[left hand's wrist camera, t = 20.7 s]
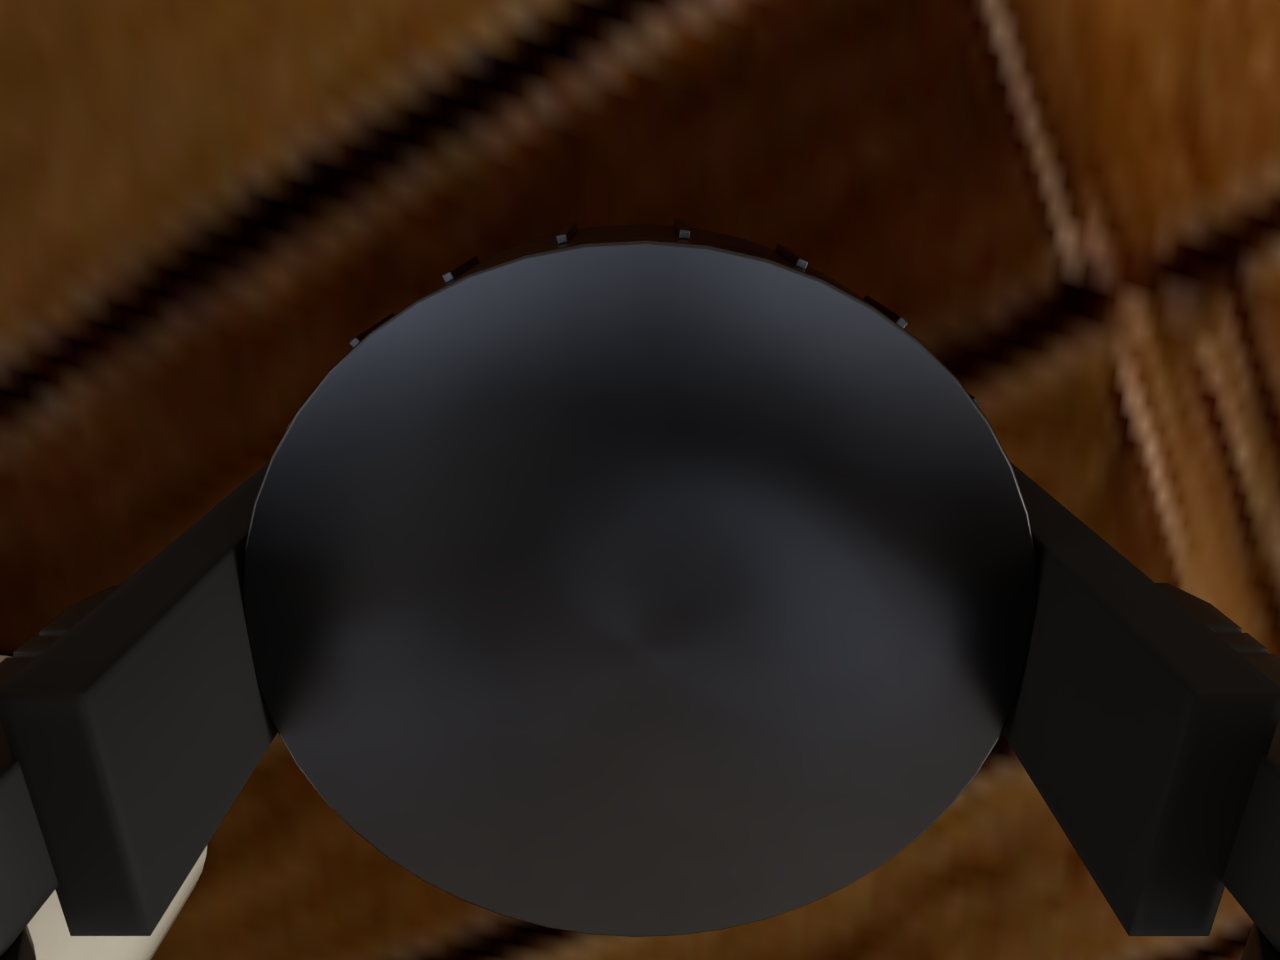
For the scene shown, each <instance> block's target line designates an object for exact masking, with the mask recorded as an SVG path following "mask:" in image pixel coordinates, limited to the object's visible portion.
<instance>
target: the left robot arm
mask: <svg viewBox="0 0 1280 960" xmlns="http://www.w3.org/2000/svg"><path fill="white" fill-rule="evenodd" d="M1010 463H1011V462H1010ZM268 465H269V462H268V463H267V464H266V465H265V466H264V467H262V468H261V469H260V470H259V471H258V472H256V473H255V474H254V475H253V476H252V477H251V478H249V479H248V480H247V481H246V482H245V483H243V484H242V485H241V486H240V487H239V488H237V489H236V490H235V491H234V492H233V493H231V494H230V495H229V496H228V497H227V498H225V499H224V500H223V501H222V502H221V503H219V504H218V505H217V506H216V507H215V508H214V509H212V510H211V511H210V512H209V513H208V514H206V515H205V516H204V517H203V518H202V519H200V520H199V521H198V522H197V523H196V524H194V525H193V526H192V527H191V528H190V529H188V530H187V531H186V532H185V533H184V534H182V535H181V536H180V537H179V538H178V539H177V540H175V541H174V542H173V543H172V544H171V545H169V546H168V547H167V548H166V549H165V550H163V551H162V552H161V553H160V554H159V555H157V556H156V557H155V558H154V559H153V560H151V561H150V562H149V563H148V564H147V565H145V566H144V567H143V568H142V569H141V570H140V571H138V572H137V573H136V574H135V575H134V576H132V577H131V578H130V579H129V580H128V581H126V582H125V583H124V584H123V585H122V586H112V587H110V588H108V589H106V590H104V591H101V592H99V593H97V594H95V595H93V596H91V597H89V598H87V599H85V600H83V601H81V602H79V603H77V604H75V605H73V606H71V607H69V608H68V609H67V610H65V611H64V612H63V613H62V614H60V615H59V616H58V617H57V618H55V619H54V620H53V621H52V622H50V623H49V624H48V625H47V626H45V627H44V628H43V629H42V630H40V631H39V636H33V637H32V638H30V639H29V640H28V641H27V642H25V643H24V644H23V645H22V646H20V647H19V648H18V649H17V650H15V651H14V652H13V653H14V655H13V657H7V658H5V659H4V660H3V661H2V662H0V960H36V955H35V948H34V943H33V941H32V938H31V935H30V932H29V929H28V926H27V924H28V923H29V922H30V921H31V919H32V918H33V917H34V916H35V914H36V913H37V912H38V911H39V909H40V908H41V907H42V906H43V904H44V903H45V902H46V900H47V899H48V898H49V897H50V895H51V894H52V893H53V892H54V890H56V893H57V896H58V899H59V902H60V905H61V908H62V911H63V914H64V917H65V920H66V924H67V927H68V930H69V933H70V936H151V934H152V933H153V931H154V929H155V928H156V926H157V925H158V923H159V921H160V920H161V918H162V917H163V915H164V913H165V912H166V910H167V909H168V907H169V905H170V904H171V902H172V901H173V899H174V897H175V896H176V894H177V893H178V891H179V889H180V888H181V886H182V885H183V883H184V881H185V880H186V878H187V876H188V875H189V873H190V872H191V870H192V868H193V867H194V865H195V864H196V862H197V860H198V859H199V857H200V856H201V854H202V852H203V851H204V849H205V848H206V846H207V844H208V843H209V841H210V840H211V838H212V836H213V835H214V833H215V832H216V830H217V828H218V827H219V825H220V824H221V822H222V820H223V819H224V817H225V816H226V814H227V812H228V811H229V809H230V808H231V806H232V804H233V803H234V801H235V800H236V798H237V796H238V795H239V793H240V791H241V790H242V788H243V787H244V785H245V783H246V782H247V780H248V779H249V777H250V775H251V774H252V772H253V771H254V769H255V767H256V766H257V764H258V763H259V761H260V759H261V758H262V756H263V755H264V753H265V751H266V750H267V748H268V747H269V745H270V743H271V742H272V740H273V739H274V737H275V735H276V734H277V732H278V731H277V729H276V728H275V726H274V723H273V721H272V718H271V716H270V714H269V711H268V709H267V706H266V704H265V701H264V699H263V696H262V694H261V692H260V689H259V687H258V683H257V679H256V674H255V669H254V664H253V659H252V654H251V649H250V644H249V639H248V633H247V627H246V621H245V616H244V607H243V597H242V595H243V575H244V556H245V546H246V541H247V536H248V531H249V526H250V522H251V517H252V512H253V507H254V502H255V499H256V497H257V494H258V492H259V489H260V486H261V484H262V481H263V478H264V476H265V473H266V470H267V468H268ZM1011 465H1012V467H1013V470H1014V473H1015V476H1016V479H1017V482H1018V485H1019V488H1020V490H1021V493H1022V496H1023V499H1024V502H1025V505H1026V508H1027V511H1028V516H1029V522H1030V527H1031V533H1032V539H1033V545H1034V550H1035V556H1036V585H1037V609H1036V615H1035V620H1034V626H1033V632H1032V637H1031V643H1030V648H1029V654H1028V658H1027V663H1026V668H1025V673H1024V677H1023V681H1022V685H1021V688H1020V692H1019V695H1018V697H1017V700H1016V702H1015V704H1014V706H1013V709H1012V711H1011V713H1010V715H1009V718H1008V720H1007V722H1006V724H1005V727H1004V729H1003V731H1002V733H1003V735H1004V736H1005V738H1006V739H1007V741H1008V743H1009V744H1010V746H1011V747H1012V749H1013V751H1014V752H1015V754H1016V755H1017V757H1018V759H1019V760H1020V762H1021V763H1022V765H1023V767H1024V768H1025V770H1026V772H1027V773H1028V775H1029V776H1030V778H1031V780H1032V781H1033V783H1034V784H1035V786H1036V788H1037V789H1038V791H1039V792H1040V794H1041V796H1042V797H1043V799H1044V800H1045V802H1046V804H1047V805H1048V807H1049V808H1050V810H1051V812H1052V813H1053V815H1054V816H1055V818H1056V820H1057V821H1058V823H1059V824H1060V826H1061V828H1062V829H1063V831H1064V832H1065V834H1066V836H1067V837H1068V839H1069V841H1070V842H1071V844H1072V845H1073V847H1074V849H1075V850H1076V852H1077V853H1078V855H1079V857H1080V858H1081V860H1082V861H1083V863H1084V865H1085V866H1086V868H1087V869H1088V871H1089V873H1090V874H1091V876H1092V877H1093V879H1094V881H1095V882H1096V884H1097V885H1098V887H1099V889H1100V890H1101V892H1102V893H1103V895H1104V897H1105V898H1106V900H1107V901H1108V903H1109V905H1110V906H1111V908H1112V909H1113V911H1114V913H1115V914H1116V916H1117V918H1118V919H1119V921H1120V922H1121V924H1122V926H1123V927H1124V929H1125V930H1126V932H1127V934H1128V935H1129V936H1209V934H1210V931H1211V928H1212V924H1213V921H1214V918H1215V915H1216V912H1217V909H1218V906H1219V903H1220V900H1221V897H1222V894H1223V891H1224V888H1225V886H1226V888H1227V889H1228V890H1229V891H1230V893H1231V894H1232V895H1233V896H1234V898H1235V899H1236V900H1237V901H1238V903H1239V904H1240V905H1241V906H1242V908H1243V909H1244V910H1245V911H1246V913H1247V914H1248V915H1249V916H1250V918H1251V919H1252V920H1253V922H1254V923H1253V926H1252V929H1251V932H1250V935H1249V938H1248V941H1247V943H1246V946H1245V949H1244V952H1243V955H1242V958H1241V960H1280V659H1279V658H1278V657H1277V656H1276V655H1274V654H1267V648H1266V647H1264V646H1263V645H1262V644H1260V643H1259V642H1258V641H1257V640H1255V639H1254V638H1253V637H1252V636H1250V635H1249V634H1248V633H1241V628H1240V627H1239V626H1238V625H1236V624H1235V623H1234V622H1233V621H1231V620H1230V619H1229V618H1228V617H1226V616H1225V615H1224V614H1223V613H1221V612H1220V611H1219V610H1218V609H1216V608H1215V607H1214V606H1213V605H1211V604H1210V603H1208V602H1206V601H1204V600H1202V599H1199V598H1197V597H1195V596H1193V595H1191V594H1189V593H1187V592H1185V591H1183V590H1181V589H1179V588H1177V587H1175V586H1173V585H1171V584H1168V583H1154V582H1153V581H1152V580H1151V579H1149V578H1148V577H1147V576H1146V575H1145V574H1143V573H1142V572H1141V571H1140V570H1139V569H1137V568H1136V567H1135V566H1134V565H1133V564H1132V563H1130V562H1129V561H1128V560H1127V559H1126V558H1124V557H1123V556H1122V555H1121V554H1120V553H1118V552H1117V551H1116V550H1115V549H1114V548H1112V547H1111V546H1110V545H1109V544H1108V543H1106V542H1105V541H1104V540H1103V539H1102V538H1100V537H1099V536H1098V535H1097V534H1096V533H1095V532H1093V531H1092V530H1091V529H1090V528H1089V527H1087V526H1086V525H1085V524H1084V523H1083V522H1081V521H1080V520H1079V519H1078V518H1077V517H1075V516H1074V515H1073V514H1072V513H1071V512H1069V511H1068V510H1067V509H1066V508H1065V507H1064V506H1062V505H1061V504H1060V503H1059V502H1058V501H1056V500H1055V499H1054V498H1053V497H1052V496H1050V495H1049V494H1048V493H1047V492H1046V491H1044V490H1043V489H1042V488H1041V487H1040V486H1038V485H1037V484H1036V483H1035V482H1034V481H1032V480H1031V479H1030V478H1029V477H1028V476H1027V475H1025V474H1024V473H1023V472H1022V471H1021V470H1019V469H1018V468H1017V467H1016V466H1015V465H1013V464H1012V463H1011Z"/></svg>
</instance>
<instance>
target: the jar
mask: <svg viewBox="0 0 1280 960" xmlns="http://www.w3.org/2000/svg"><path fill="white" fill-rule="evenodd" d="M7 657H12V656H7V655H0V662H2V661H3V660H4V659H5V658H7ZM206 855H207V846H206V848H205V849H204V851H203V852H202V854H201V856H200V857H199V859H198V860H197V862H196V864H195V865H194V867H193V868H192V870H191V872H190V873H189V875H188V876H187V878H186V880H185V881H184V883H183V885H182V886H181V888H180V889H179V891H178V893H177V894H176V896H175V897H174V899H173V901H172V902H171V904H170V905H169V907H168V909H167V910H166V912H165V913H164V915H163V917H162V918H161V920H160V921H159V923H158V925H157V926H156V928H155V929H154V931H153V933H152V934H151V936H70V933H69V930H68V927H67V924H66V920H65V917H64V914H63V911H62V908H61V905H60V902H59V899H58V896H57V893H56V890H54V892H53V893H52V894H51V895H50V897H49V898H48V899H47V900H46V902H45V903H44V904H43V906H42V907H41V908H40V909H39V911H38V912H37V913H36V914H35V916H34V917H33V918H32V919H31V921H30V922H29V923H28V924H27V926H28V929H29V932H30V935H31V938H32V941H33V943H34V948H35V955H36V960H151V959H152V957H153V955H154V954H155V952H156V950H157V949H158V947H159V945H160V944H161V942H162V940H163V939H164V937H165V936H166V934H167V932H168V931H169V929H170V927H171V926H172V924H173V922H174V921H175V919H176V917H177V916H178V914H179V912H180V911H181V909H182V907H183V906H184V904H185V903H186V901H187V899H188V898H189V896H190V894H191V893H192V891H193V889H194V888H195V886H196V883H197V881H198V879H199V877H200V875H201V873H202V870H203V866H204V862H205V859H206Z"/></svg>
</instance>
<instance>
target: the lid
mask: <svg viewBox="0 0 1280 960" xmlns="http://www.w3.org/2000/svg"><path fill="white" fill-rule="evenodd" d="M807 264H808V261H807V260H805V259H803V258H802V257H800V256H799V255H797V254H796V253H794V252H793V251H791V250H790V249H788V248H787V247H785V246H783V245H780V244H778V245H777V247H776V250H772V249H769V248H767V247H764V246H761V245H759V244H756V243H753V242H751V241H748V240H745V239H742V238H737V237H733V236H728V235H724V234H719V233H715V232H710V231H706V230H701V229H697V228H688V227H687V225H686V224H685V222H684V221H683V220H680V219H675V220H674V226H663V225H651V224H637V225H618V226H599V227H591V228H586V229H581V230H578V229H577V224H576V223H572V224H568V225H567V226H566V227H565V228H564V229H563V230H562V231H561V232H560V233H559V234H555V235H549V236H545V237H542V238H539V239H536V240H533V241H530V242H527V243H524V244H521V245H518V246H515V247H513V248H510V249H507V250H504V251H501V252H498V253H496V254H494V255H492V256H490V257H488V258H486V259H484V260H482V261H480V262H479V260H478V258H477V257H476V256H473V257H471V258H469V259H468V260H466V261H464V262H463V263H461V264H460V265H458V266H456V267H455V268H453V269H452V270H450V271H448V272H447V273H445V274H443V275H442V277H443V279H444V282H443V283H441V284H440V285H438V286H437V287H435V288H434V289H432V290H430V291H429V292H427V293H426V294H424V295H423V296H421V297H420V298H418V299H417V300H415V301H414V302H412V303H411V304H410V305H408V306H407V307H405V308H404V309H402V310H401V311H400V312H398V313H397V314H395V315H394V314H393V313H392V314H390V315H389V316H387V317H386V318H384V319H383V320H381V321H380V322H378V323H376V324H375V325H373V326H372V327H370V328H369V329H367V330H366V331H364V332H363V333H361V334H359V335H358V336H356V337H355V338H354V339H353V340H352V341H351V342H350V345H351V346H352V347H353V348H352V349H351V350H350V351H349V352H348V353H347V354H346V355H345V356H344V357H343V358H342V359H341V360H340V361H339V362H338V363H336V364H335V365H334V366H333V367H332V368H331V369H330V370H329V371H328V373H327V374H326V375H325V377H324V378H323V379H322V380H321V382H320V383H319V384H318V385H317V387H316V388H315V389H314V390H313V392H312V393H311V394H310V396H309V397H308V398H307V399H306V401H305V402H304V403H303V404H302V406H301V407H300V408H299V410H298V411H297V412H296V414H295V416H294V418H293V419H292V421H291V422H290V423H289V425H288V427H287V429H286V432H285V434H284V435H283V437H282V439H281V441H280V442H279V444H278V446H277V448H276V450H275V451H274V453H273V455H272V457H271V460H270V462H269V465H268V468H267V470H266V473H265V476H264V478H263V481H262V484H261V486H260V489H259V492H258V494H257V497H256V499H255V502H254V507H253V512H252V517H251V522H250V526H249V531H248V536H247V541H246V546H245V556H244V575H243V595H242V597H243V607H244V616H245V621H246V627H247V633H248V639H249V644H250V649H251V654H252V659H253V664H254V669H255V674H256V679H257V683H258V687H259V689H260V692H261V694H262V696H263V699H264V701H265V704H266V706H267V709H268V711H269V714H270V716H271V718H272V721H273V723H274V726H275V728H276V729H277V731H278V733H279V735H280V736H281V738H282V740H283V742H284V743H285V745H286V747H287V748H288V750H289V752H290V754H291V755H292V757H293V759H294V761H295V762H296V764H297V765H298V767H299V768H300V769H301V771H302V772H303V773H304V775H305V776H306V777H307V779H308V780H309V781H310V782H311V784H312V785H313V786H314V788H315V789H316V790H317V792H318V793H319V794H320V796H321V797H322V798H323V799H324V800H325V801H326V802H327V803H328V805H329V806H330V807H331V808H332V809H333V810H334V811H335V812H336V813H337V814H338V815H339V816H340V817H341V818H342V819H343V820H344V821H345V822H346V823H347V824H348V825H349V826H350V827H351V828H352V829H353V830H354V831H355V832H356V833H358V834H359V835H360V836H361V837H363V838H364V839H365V840H366V841H368V842H369V843H370V844H371V845H373V846H374V847H375V848H376V849H378V850H379V851H380V852H381V853H382V854H384V855H385V856H386V857H387V858H389V859H390V860H392V861H394V862H395V863H397V864H398V865H400V866H401V867H403V868H405V869H406V870H408V871H409V872H411V873H412V874H414V875H416V876H417V877H419V878H420V879H422V880H423V881H425V882H427V883H429V884H431V885H433V886H435V887H437V888H439V889H441V890H443V891H445V892H447V893H449V894H451V895H453V896H455V897H457V898H459V899H461V900H463V901H466V902H469V903H471V904H474V905H477V906H479V907H482V908H485V909H487V910H490V911H493V912H495V913H498V914H501V915H503V916H507V917H510V918H514V919H518V920H522V921H526V922H529V923H533V924H537V925H541V926H545V927H549V928H556V929H562V930H568V931H574V932H581V933H587V934H597V935H614V936H631V937H642V936H669V935H684V934H691V933H698V932H706V931H713V930H721V929H726V928H730V927H734V926H738V925H742V924H747V923H751V922H755V921H759V920H764V919H767V918H770V917H773V916H776V915H779V914H781V913H784V912H787V911H790V910H793V909H796V908H799V907H802V906H805V905H807V904H809V903H812V902H814V901H816V900H818V899H820V898H822V897H824V896H827V895H829V894H831V893H833V892H835V891H837V890H839V889H842V888H844V887H846V886H848V885H849V884H851V883H853V882H854V881H856V880H858V879H859V878H861V877H863V876H864V875H866V874H868V873H869V872H871V871H873V870H874V869H876V868H878V867H879V866H881V865H883V864H884V863H885V862H887V861H888V860H889V859H891V858H892V857H893V856H895V855H896V854H897V853H899V852H900V851H901V850H902V849H904V848H905V847H906V846H908V845H909V844H910V843H912V842H913V841H914V840H916V839H917V838H918V837H919V836H920V835H921V834H922V833H923V832H924V831H925V830H927V829H928V828H929V827H930V826H931V825H932V824H933V823H934V822H935V821H936V820H937V819H938V818H939V817H940V816H941V815H942V814H943V813H944V812H945V811H946V810H947V809H948V808H949V807H950V806H951V805H952V804H953V802H954V801H955V800H956V799H957V798H958V796H959V795H960V794H961V793H962V791H963V790H964V789H965V788H966V786H967V785H968V784H969V783H970V781H971V780H972V779H973V778H974V776H975V775H976V774H977V773H978V771H979V770H980V768H981V766H982V765H983V763H984V761H985V760H986V758H987V757H988V755H989V753H990V752H991V750H992V748H993V747H994V745H995V744H996V742H997V740H998V739H999V737H1000V736H1001V733H1002V731H1003V729H1004V727H1005V724H1006V722H1007V720H1008V718H1009V715H1010V713H1011V711H1012V709H1013V706H1014V704H1015V702H1016V700H1017V697H1018V695H1019V692H1020V688H1021V685H1022V681H1023V677H1024V673H1025V668H1026V663H1027V658H1028V654H1029V648H1030V643H1031V637H1032V632H1033V626H1034V620H1035V615H1036V609H1037V585H1036V556H1035V550H1034V545H1033V539H1032V533H1031V527H1030V522H1029V516H1028V511H1027V508H1026V505H1025V502H1024V499H1023V496H1022V493H1021V490H1020V488H1019V485H1018V482H1017V479H1016V476H1015V473H1014V470H1013V467H1012V465H1011V463H1010V461H1009V459H1008V457H1007V455H1006V453H1005V451H1004V449H1003V447H1002V445H1001V444H1000V442H999V440H998V438H997V436H996V434H995V432H994V430H993V428H992V426H991V424H990V422H989V421H988V419H987V418H986V417H985V415H984V414H983V413H982V411H981V410H980V408H979V407H978V406H979V403H978V402H977V400H976V398H974V397H973V396H972V395H970V394H969V393H968V392H967V391H966V389H965V388H964V387H963V385H962V384H961V383H960V381H959V380H958V379H957V378H956V377H955V376H954V375H953V374H952V373H951V372H950V371H949V370H948V369H947V368H946V367H945V366H944V365H943V364H942V363H941V362H940V361H939V360H938V359H937V358H936V357H935V356H934V355H933V354H932V353H931V352H930V351H929V350H928V349H927V348H926V347H925V346H924V345H923V344H922V343H921V342H920V341H919V340H918V339H917V338H916V337H914V336H913V335H912V334H910V333H909V332H907V331H906V330H905V329H903V328H904V327H905V326H906V324H907V323H908V322H907V321H905V320H904V319H903V318H902V317H900V316H899V315H897V314H896V313H894V312H892V311H891V310H889V309H888V308H886V307H885V306H883V305H881V304H880V303H878V302H877V301H875V300H873V299H872V298H870V297H869V296H866V297H865V298H864V299H862V298H860V297H859V296H857V295H856V294H854V293H853V292H851V291H850V290H848V289H847V288H845V287H844V286H842V285H841V284H839V283H838V282H836V281H835V280H833V279H831V278H829V277H828V276H826V275H824V274H822V273H820V272H818V271H817V270H815V269H813V268H811V267H809V266H807Z"/></svg>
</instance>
